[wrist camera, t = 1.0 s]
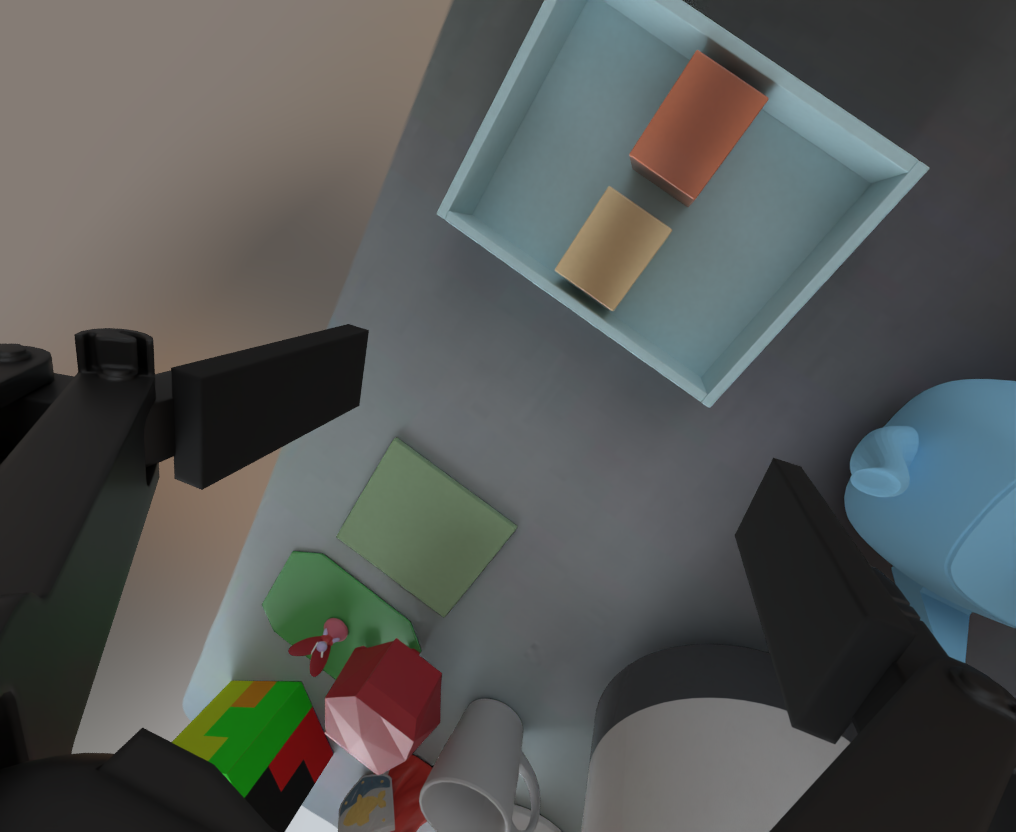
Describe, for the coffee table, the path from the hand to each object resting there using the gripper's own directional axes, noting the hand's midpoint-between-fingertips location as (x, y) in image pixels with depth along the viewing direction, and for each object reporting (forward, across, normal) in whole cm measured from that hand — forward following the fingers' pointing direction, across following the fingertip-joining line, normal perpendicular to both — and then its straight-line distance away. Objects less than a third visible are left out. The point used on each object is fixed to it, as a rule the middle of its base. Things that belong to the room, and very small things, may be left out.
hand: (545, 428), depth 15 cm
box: (+18, 0, +8) cm, 20 cm away
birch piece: (+18, -1, +5) cm, 19 cm away
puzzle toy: (+19, -21, -51) cm, 58 cm away
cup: (+19, +2, -38) cm, 42 cm away
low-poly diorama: (+19, -13, -34) cm, 41 cm away
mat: (+18, -9, -20) cm, 29 cm away
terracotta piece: (+18, +2, +12) cm, 21 cm away
